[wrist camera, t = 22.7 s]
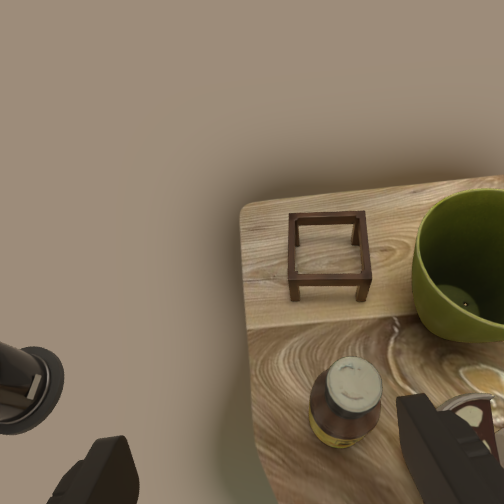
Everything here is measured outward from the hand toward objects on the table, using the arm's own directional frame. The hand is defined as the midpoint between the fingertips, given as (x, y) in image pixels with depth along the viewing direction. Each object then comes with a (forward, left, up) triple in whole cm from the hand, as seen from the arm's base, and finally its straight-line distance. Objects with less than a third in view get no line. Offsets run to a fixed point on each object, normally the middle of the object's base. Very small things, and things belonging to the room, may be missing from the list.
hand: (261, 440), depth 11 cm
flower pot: (+19, +18, -37) cm, 45 cm away
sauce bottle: (+4, +4, -37) cm, 37 cm away
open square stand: (+4, +24, -37) cm, 44 cm away
